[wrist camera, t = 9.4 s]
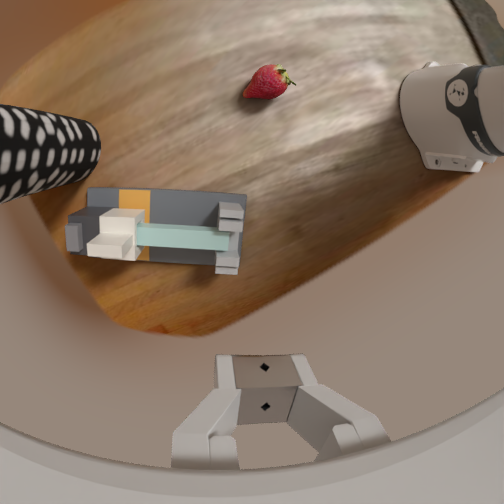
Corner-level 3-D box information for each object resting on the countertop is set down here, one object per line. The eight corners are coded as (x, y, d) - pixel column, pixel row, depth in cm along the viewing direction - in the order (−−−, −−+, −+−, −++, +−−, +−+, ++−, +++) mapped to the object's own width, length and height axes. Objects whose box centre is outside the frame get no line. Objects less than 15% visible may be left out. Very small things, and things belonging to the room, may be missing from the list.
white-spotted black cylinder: (57, 116, 27) (-50, 103, 8) (108, 123, 29) (8, 99, 10) (44, 177, 29) (-63, 207, 10) (93, 187, 31) (-10, 226, 12)
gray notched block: (239, 203, 33) (244, 212, 28) (233, 258, 36) (237, 276, 30) (219, 201, 33) (220, 210, 28) (214, 257, 35) (215, 275, 30)
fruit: (233, 81, 29) (237, 69, 25) (277, 65, 29) (287, 52, 25) (248, 110, 31) (254, 102, 26) (292, 93, 31) (304, 84, 26)
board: (245, 194, 34) (246, 195, 33) (238, 263, 37) (239, 266, 36) (90, 187, 31) (87, 188, 30) (92, 254, 34) (89, 257, 33)
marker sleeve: (144, 209, 31) (123, 227, 23) (144, 247, 32) (124, 276, 24) (113, 208, 30) (83, 225, 22) (114, 245, 32) (87, 272, 24)
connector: (115, 207, 31) (95, 219, 25) (115, 241, 33) (97, 260, 26) (87, 206, 31) (63, 218, 24) (88, 240, 32) (66, 257, 26)
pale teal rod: (228, 228, 32) (229, 232, 30) (226, 245, 32) (227, 250, 30) (93, 220, 29) (87, 224, 27) (94, 237, 30) (87, 242, 28)
